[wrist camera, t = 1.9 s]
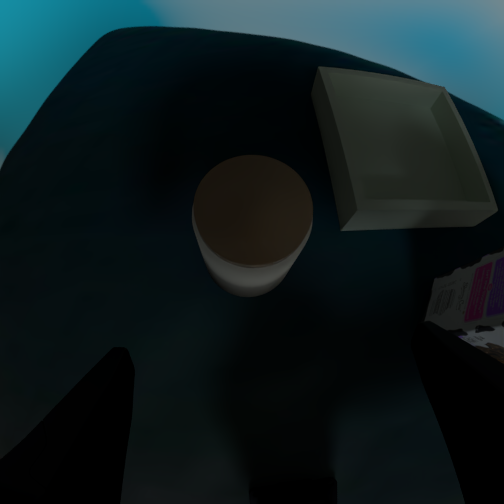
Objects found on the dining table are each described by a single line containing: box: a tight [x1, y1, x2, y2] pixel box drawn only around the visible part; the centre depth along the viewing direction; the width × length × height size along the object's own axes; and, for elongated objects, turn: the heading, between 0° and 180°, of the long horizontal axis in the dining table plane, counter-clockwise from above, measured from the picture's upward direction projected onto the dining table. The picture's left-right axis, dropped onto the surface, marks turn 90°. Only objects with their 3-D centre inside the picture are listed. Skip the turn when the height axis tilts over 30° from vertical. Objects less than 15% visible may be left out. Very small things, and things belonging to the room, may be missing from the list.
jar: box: [192, 155, 313, 297], centre depth 20 cm, size 6×6×8 cm
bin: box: [311, 67, 498, 231], centre depth 26 cm, size 15×15×4 cm
